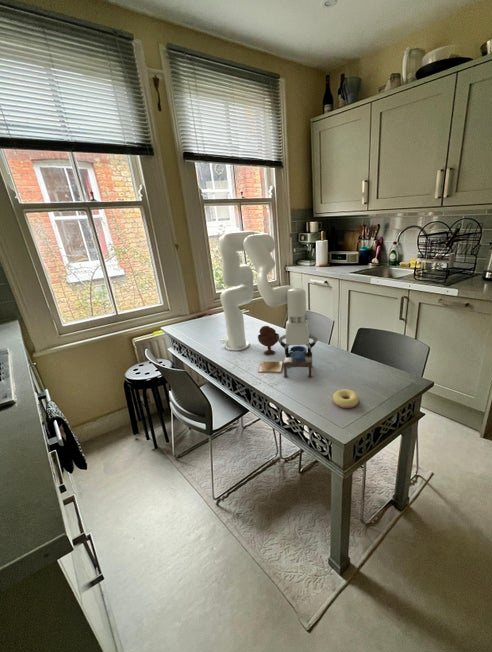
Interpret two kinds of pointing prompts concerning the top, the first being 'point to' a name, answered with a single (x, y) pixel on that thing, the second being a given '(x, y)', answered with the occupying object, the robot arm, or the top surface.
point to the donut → (345, 402)
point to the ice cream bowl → (268, 338)
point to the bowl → (297, 353)
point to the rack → (298, 364)
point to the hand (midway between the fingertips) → (298, 356)
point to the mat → (271, 367)
